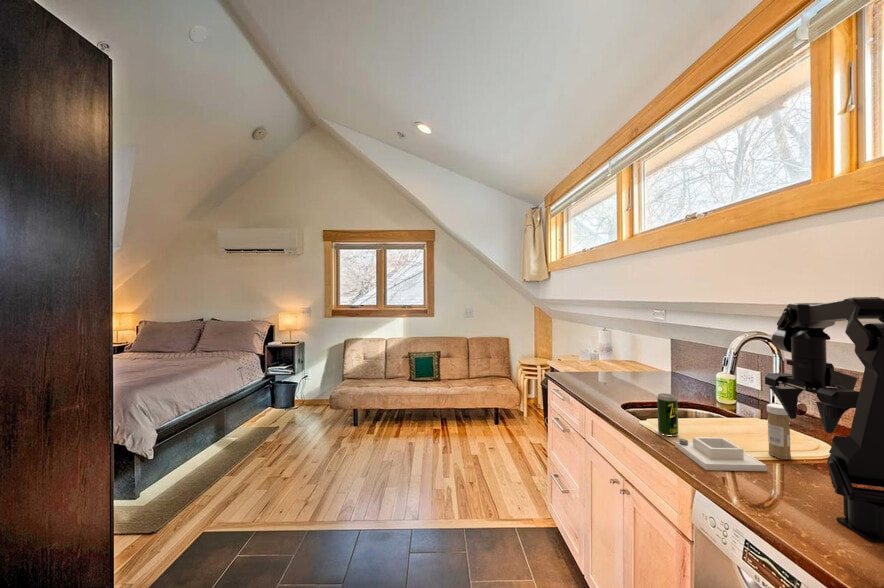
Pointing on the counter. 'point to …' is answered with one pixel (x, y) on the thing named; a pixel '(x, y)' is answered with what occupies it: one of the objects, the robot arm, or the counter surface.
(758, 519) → the counter surface
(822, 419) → the robot arm
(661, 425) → the beer can
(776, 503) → the counter surface
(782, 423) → the sprinkles bottle
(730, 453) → the housing
